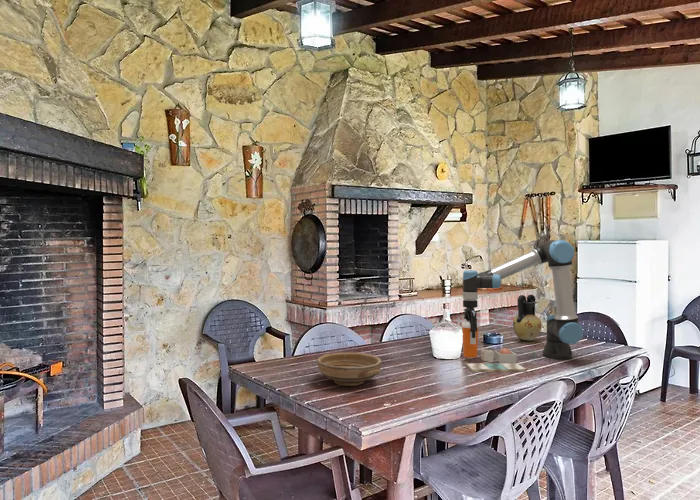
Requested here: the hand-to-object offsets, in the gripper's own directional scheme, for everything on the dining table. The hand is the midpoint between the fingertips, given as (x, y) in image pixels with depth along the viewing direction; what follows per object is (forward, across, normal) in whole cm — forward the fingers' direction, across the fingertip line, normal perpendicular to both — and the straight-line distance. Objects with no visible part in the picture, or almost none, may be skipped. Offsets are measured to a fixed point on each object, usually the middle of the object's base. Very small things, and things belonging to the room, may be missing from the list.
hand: (470, 342), depth 265 cm
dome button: (+10, +1, +18) cm, 21 cm away
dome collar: (+10, +1, +18) cm, 21 cm away
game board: (+10, +17, +8) cm, 21 cm away
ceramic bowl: (+9, +38, -66) cm, 77 cm away
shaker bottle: (+8, 0, 0) cm, 8 cm away
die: (+10, -1, +10) cm, 14 cm away
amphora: (+11, -47, +50) cm, 70 cm away
